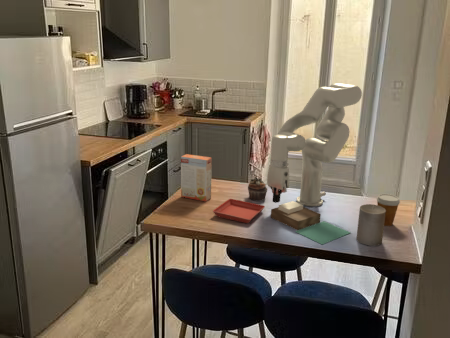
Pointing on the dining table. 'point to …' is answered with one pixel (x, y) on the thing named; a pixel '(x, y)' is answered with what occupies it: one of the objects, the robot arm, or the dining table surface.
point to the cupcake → (257, 189)
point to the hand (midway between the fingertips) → (276, 201)
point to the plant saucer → (238, 210)
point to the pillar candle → (371, 224)
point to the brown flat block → (296, 218)
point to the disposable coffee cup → (388, 207)
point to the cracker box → (196, 177)
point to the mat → (322, 232)
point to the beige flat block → (290, 207)
